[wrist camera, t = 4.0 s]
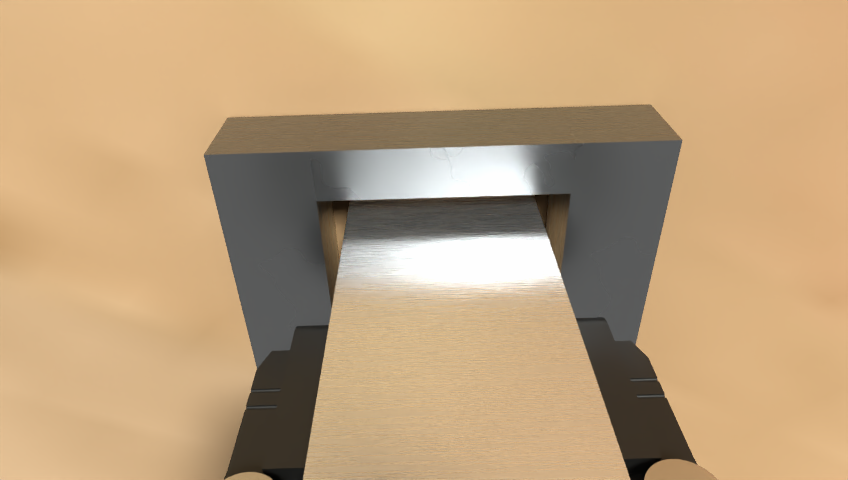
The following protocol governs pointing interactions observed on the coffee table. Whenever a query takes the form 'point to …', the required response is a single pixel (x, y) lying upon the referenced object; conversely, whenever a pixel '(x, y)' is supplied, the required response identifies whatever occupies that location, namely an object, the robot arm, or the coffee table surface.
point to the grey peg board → (436, 178)
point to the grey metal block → (455, 351)
